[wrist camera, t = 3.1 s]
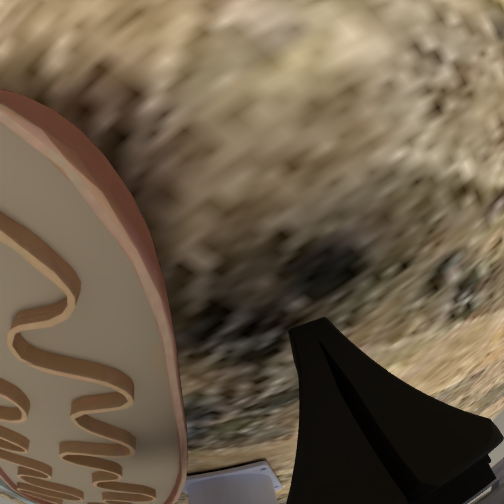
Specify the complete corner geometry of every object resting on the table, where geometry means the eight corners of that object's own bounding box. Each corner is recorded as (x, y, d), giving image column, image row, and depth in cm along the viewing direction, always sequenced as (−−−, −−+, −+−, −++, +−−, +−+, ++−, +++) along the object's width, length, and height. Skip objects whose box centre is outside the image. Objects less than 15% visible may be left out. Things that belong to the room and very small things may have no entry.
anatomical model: (-59, 89, 5) (-165, 124, 1) (228, 94, 8) (286, 108, 3) (40, 449, 15) (34, 506, 11) (168, 466, 18) (175, 525, 14)
